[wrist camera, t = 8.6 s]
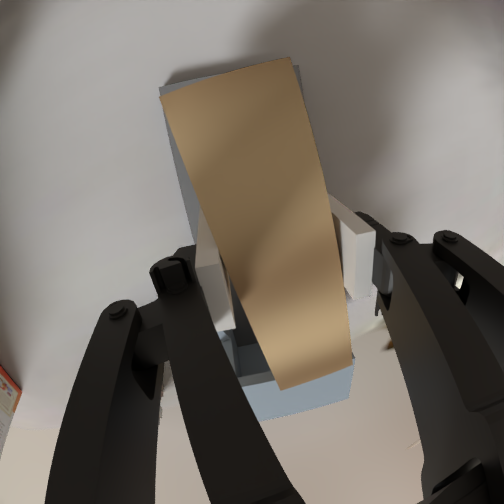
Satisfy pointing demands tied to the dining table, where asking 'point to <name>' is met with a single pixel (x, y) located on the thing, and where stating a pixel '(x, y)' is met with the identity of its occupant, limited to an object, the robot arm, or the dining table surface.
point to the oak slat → (268, 212)
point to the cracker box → (7, 404)
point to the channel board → (243, 338)
